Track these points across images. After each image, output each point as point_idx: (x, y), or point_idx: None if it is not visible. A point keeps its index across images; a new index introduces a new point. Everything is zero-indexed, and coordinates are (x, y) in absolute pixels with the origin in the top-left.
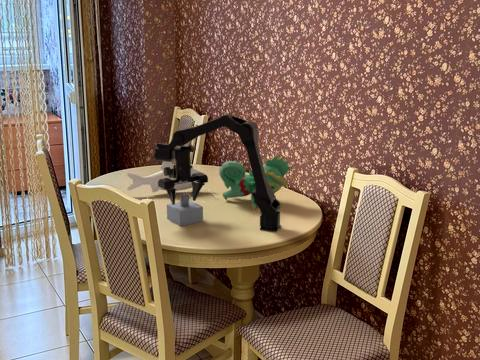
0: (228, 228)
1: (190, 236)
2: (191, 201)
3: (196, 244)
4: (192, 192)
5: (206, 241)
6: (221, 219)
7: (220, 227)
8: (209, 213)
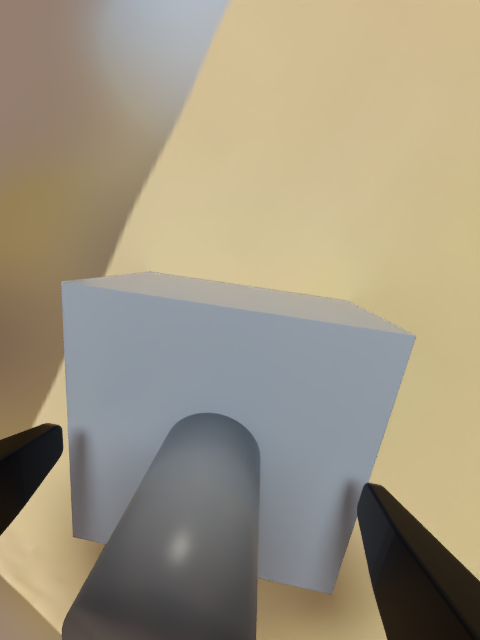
0: (321, 617)
1: None
2: (388, 397)
3: None
4: (469, 634)
5: None
6: None
7: None
8: (469, 389)
